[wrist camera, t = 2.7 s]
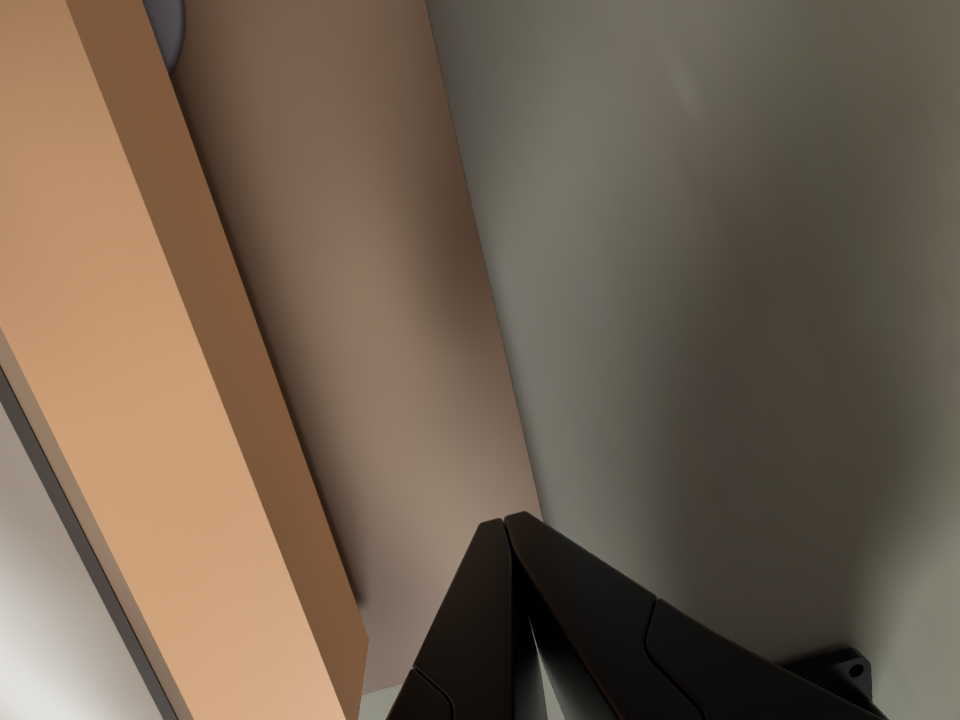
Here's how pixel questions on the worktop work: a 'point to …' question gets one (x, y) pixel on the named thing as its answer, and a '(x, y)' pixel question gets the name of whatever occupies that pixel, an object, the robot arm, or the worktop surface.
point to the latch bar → (162, 371)
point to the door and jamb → (298, 346)
